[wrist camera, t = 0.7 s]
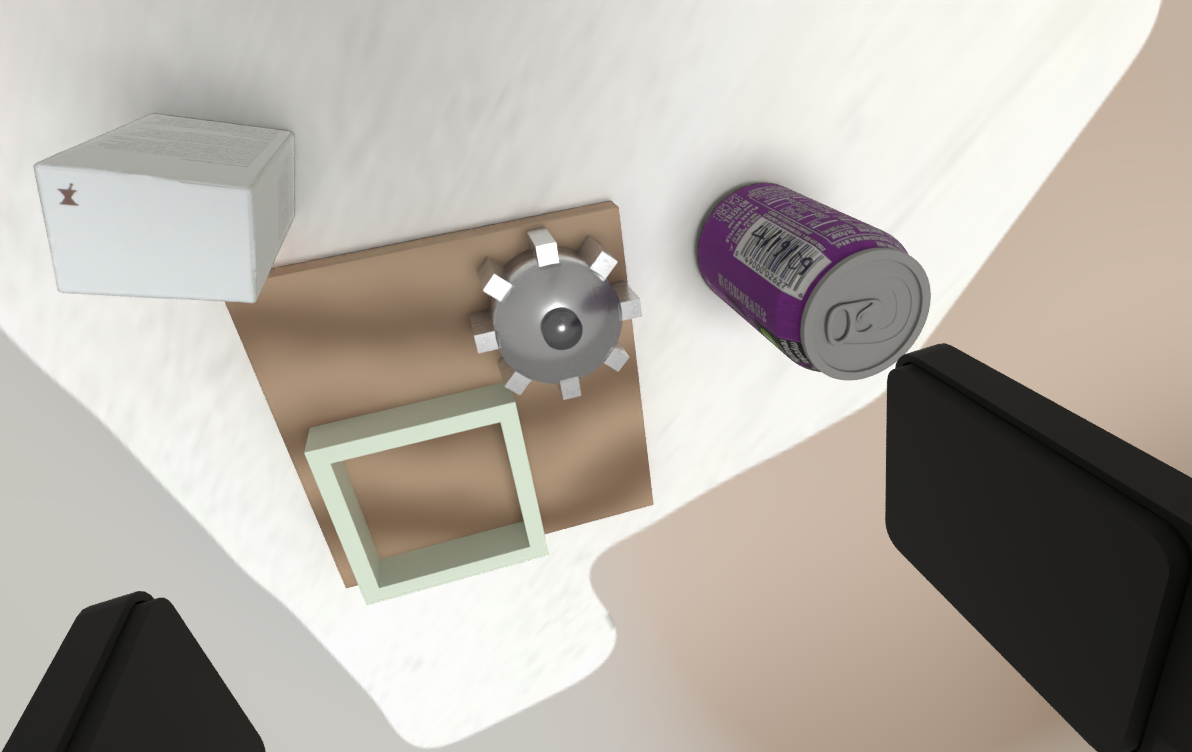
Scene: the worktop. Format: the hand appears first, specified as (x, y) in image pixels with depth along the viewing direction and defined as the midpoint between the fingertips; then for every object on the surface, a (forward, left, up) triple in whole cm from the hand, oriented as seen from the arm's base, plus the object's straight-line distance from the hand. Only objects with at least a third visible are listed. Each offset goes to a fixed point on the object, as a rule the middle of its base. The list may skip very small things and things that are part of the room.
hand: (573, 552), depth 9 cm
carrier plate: (+14, -2, -30) cm, 33 cm away
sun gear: (+8, +4, -28) cm, 30 cm away
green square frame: (+18, -5, -28) cm, 34 cm away
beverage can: (+8, +16, -30) cm, 35 cm away
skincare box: (-1, -10, -30) cm, 32 cm away
